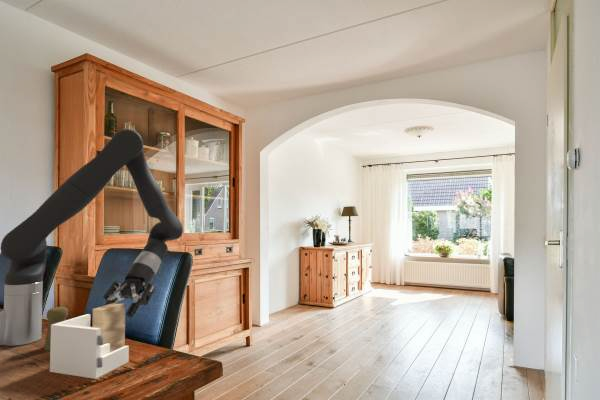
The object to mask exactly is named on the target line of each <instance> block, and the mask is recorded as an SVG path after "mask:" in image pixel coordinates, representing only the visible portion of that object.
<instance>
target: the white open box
mask: <svg viewBox="0 0 600 400" xmlns="http://www.w3.org/2000/svg"><path fill="white" fill-rule="evenodd" d="M100 345H102V346H100ZM129 356H130V346H129V345H125V346H123V347H121V348H118V349H116V350H114V351H112V352H110V344H109V343H107V344H104V345H103V335H101V328H94V327H92V326H91V314H90V313H86V314H84V315H79V316H77V317H76V316H75V317H73V318H69V319H66V321H62V322H59V323H56V324H52V325H51V344H50V351H49V372H50V373H55V374H61V375H69V376H73V377H74V376H75V377H81V378H88V379H94V380H95V379H98V378H100V377H102V376H105V375H106V374H108V373H110V372H112V371H114V370H116V369H118V368H120V367H122V366H124V365H125V364H127V363H129V362H130V359H129V358H130V357H129Z"/></svg>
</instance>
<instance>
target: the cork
mask: <svg viewBox="0 0 600 400" xmlns="http://www.w3.org/2000/svg"><path fill="white" fill-rule="evenodd" d="M68 315H69V309H68V308H67V307H66V306H65V307H64V306H56V307H52V308H50V309H48V310H47V312H46V319H47V320H48V325H47V330H46V336H45V341H44V348H43V350H44V351H46V352H47V351H48V352H50V344H51V325H52V324H56V323H59V322H62V321H66V320H67V317H68Z"/></svg>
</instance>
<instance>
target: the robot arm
mask: <svg viewBox="0 0 600 400" xmlns="http://www.w3.org/2000/svg"><path fill="white" fill-rule="evenodd" d="M124 166H126V168H127V170H128V172H129V174H130V176H131V178H132V181H133V184H134V185H135V189H136V190H137V194H138V196H139V199H140V201H141V203H142V204H143V207H144V210H145V211H146V214H147V215H148V216H149V217H150V218H152V219H153V218H154V219H157V220H159V221H158V222H157V223H155V224H154V225H153V226H152V228H151V230H150V232H149V235H148V238H147V242H146V244H145V246H144V247H143V249H142V250H141V252H140V253H139V255H138V256H137V257H136V258H135V260H134V261H133V262H132V264H131V266H130V267H129V269H128V271H127V272H126V273H125V277H124V278H125V279H124V280H123V282H121V283H119V282H117V281H116V280H115V281H114V282H112V284H111V285H110V287H109V288H108V289H107V291H106V292H105V293H104V295H103V297H102V298H103V299H104V300H105V304H104V305H103V306H105V305H108V304H112V303H115V302H116V303H119V302H121V301H123V300H124V299H126V300H127V299H131V300H133V302H131V304H130V306H129V307H128V309H127V311H125V317H127V318H129V319H132V318H133V317H134V316H135V315H136V313H137V311H138V310H139V308H140V307H141V306H147V305H148V304H149V303H150V300H151V298H152V296H153V294H154V292H155V290H156V289H155V287H154V286H153V284H152V283H151V282H152V281H153V279H154V277H155V276H156V274H157V272H158V270H159V268H160V266H161V264H162V262H163V260H164V258H165V256H166V255H167V252H168V249H169V248H168V245H167V243H166V242H169V241H175V240H178V239H180V238H181V237H182V235H183V233H184V227H183V223H182V222H181V220H180V219H179V218H178V216H177V215H176V213H174V211H173V210H172V209H171V208H170V206H169V205H168V203H167V201H166V199H165V196H164V194H163V192H162V190H161V188H160V186H159V184H158V182H157V180H156V178H155V177H154V175H153V173H152V171H151V169H150V167H149V165H148V162H147V160H146V155H145V151H144V140H143V138H142V136H141V135H140V133H139V132H137V131H135V130H132V129H131V128H130V129H127V128H124V129H120V130H118V131H117V132H115V134H114V135H113V136H112V137H111V138H110V140H109V141H108V143H107V144H105V146H104V147H103V148H102V150H100V152H99V153H98V154H97V155H96V156H95V157H93V159H90V161H88V162H87V163H86V164H84V165H82V167H80V168H79V169H78V170H76V172H74V173H72V174H71V175H70V176H69V177H68V178H67V179H66V180H65V181H64V182H63V183H62V184H61V185H60V186H59V187H58V188H57V189H55V191H54V192H53V193H52V194H51V195H50V196H48V197H47V199H46V200H45V201H43V203H42V204H41V205H40V206H39V207H38V208H37V209H36V210H35V211H34V212H32V214H31V215H30V216H29V217H26V219H24V220H23V221H22V222H21V223H19V224H18V225H17V226H15V227H14V228H13V229H12V230H10V231H8V232H7V234H6V235H4V237H3V238H2V240H1V244H0V252H1V254H2V255H3V256H4V257H5V258H6V259H8V260H9V261H10V266H9V268H8V270H7V272H6V273H5V275H4V291H3V292H4V295H3V310H1V311H0V346H8V347H9V346H10V347H12V346H13V347H15V346H23V345H28V344H31V343H34V342H38V341H40V340H41V339H42V333H43V330H42V327H43V325H42V323H43V293H44V291H43V290H44V289H43V288H44V286H43V284H44V283H43V282H44V281H43V280H44V274H45V270H46V267H47V266H46V265H47V264H46V263H47V251H48V248H47V247H48V246H47V238H48V237H49V235H51V233H53V231H55V229H57V228H58V227H59V226H61V225H62V224H64V223H65V222H67V221H69V220H70V219H71V218H73V217H74V216H76V215H77V214H78V213H80V212H81V211H83V209H85V208H86V207H87V206H88V205H89V204H90V203H91V202H92V201H93V200H94V199H95V198H96V197H97V196H98V195H99V194H100V193H101V192H102V190H103V189H104V188H105V187H106V185H107V184H108V183H109V181H111V179H112V178H113V177H114V175H116V173H117V172H119V170H121V169H122V168H123V167H124ZM119 294H120V295H119Z"/></svg>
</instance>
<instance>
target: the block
mask: <svg viewBox="0 0 600 400" xmlns="http://www.w3.org/2000/svg"><path fill="white" fill-rule="evenodd" d="M104 305H105V304H104ZM104 305H102V306H99V307H95V308H92V326H91V327H94V328H101V335H103V345H104V344H107V343H109V344H110V352H112V351H115V350H117V349H119V348H121V347H123V346H126V345H125V343H126V342H125V340H126V303H125V302H117V303H116V302H115V303H112V304H108V305H105V306H104ZM100 346H102V345H100Z"/></svg>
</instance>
